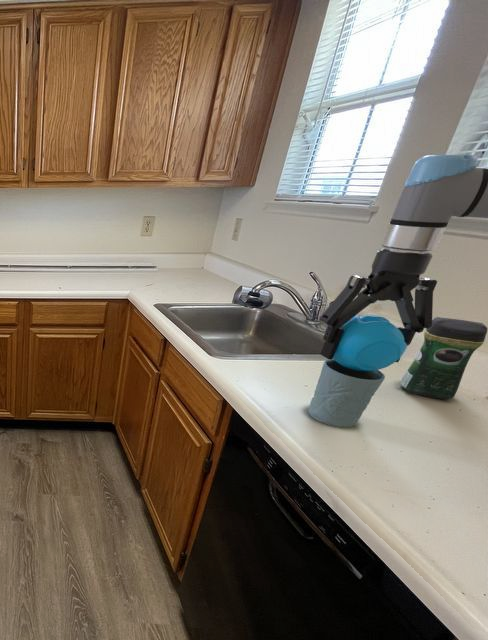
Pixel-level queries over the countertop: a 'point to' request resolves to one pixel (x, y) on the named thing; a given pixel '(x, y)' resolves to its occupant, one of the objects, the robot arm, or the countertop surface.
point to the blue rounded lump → (369, 344)
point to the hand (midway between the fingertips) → (358, 358)
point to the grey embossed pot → (343, 394)
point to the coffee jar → (443, 357)
